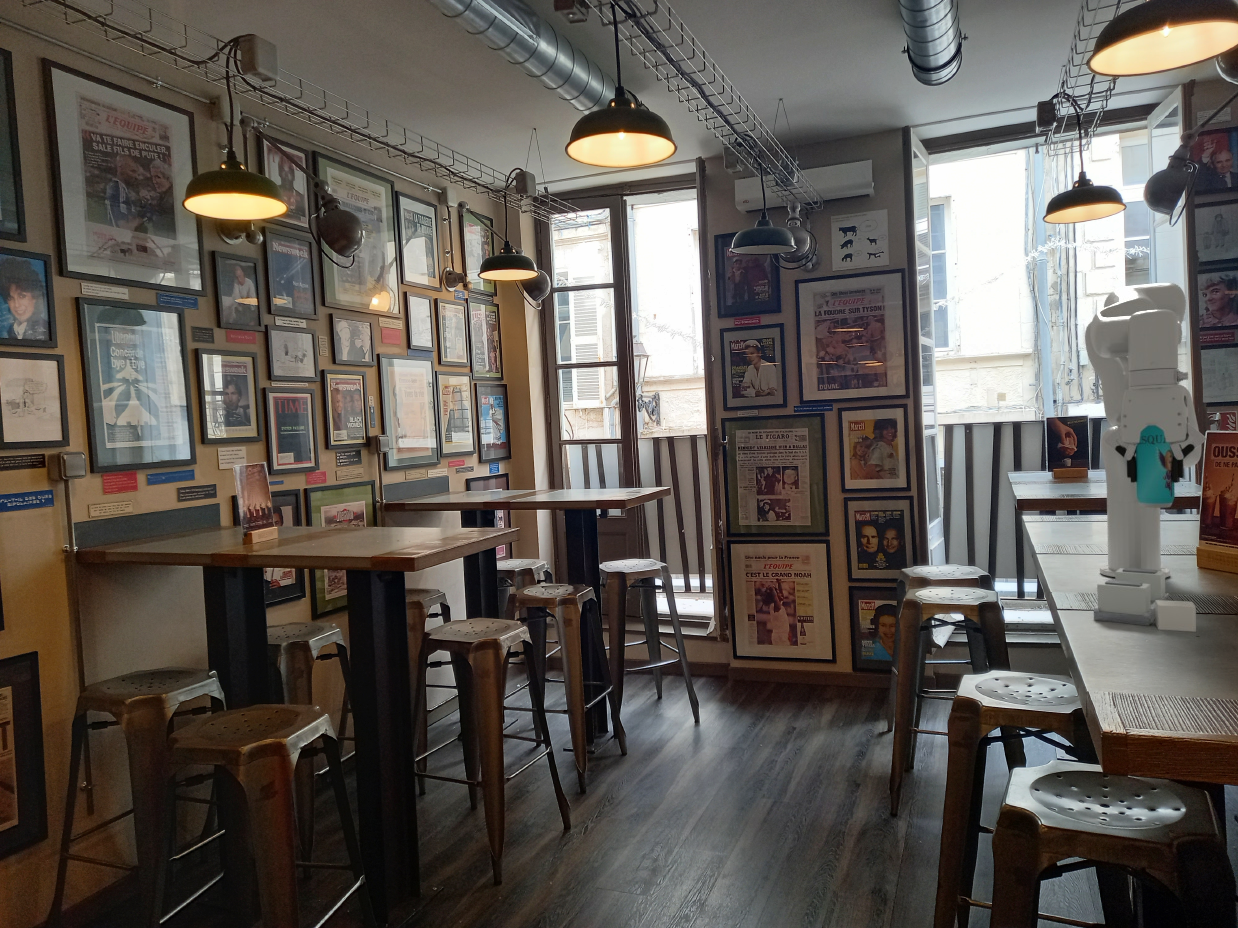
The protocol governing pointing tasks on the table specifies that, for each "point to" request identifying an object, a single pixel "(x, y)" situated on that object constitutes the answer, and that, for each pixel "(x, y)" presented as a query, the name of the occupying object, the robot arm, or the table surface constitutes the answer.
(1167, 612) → the block
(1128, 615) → the rail
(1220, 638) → the table surface
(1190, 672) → the table surface
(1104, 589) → the block
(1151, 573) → the module
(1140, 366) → the robot arm
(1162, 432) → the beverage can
